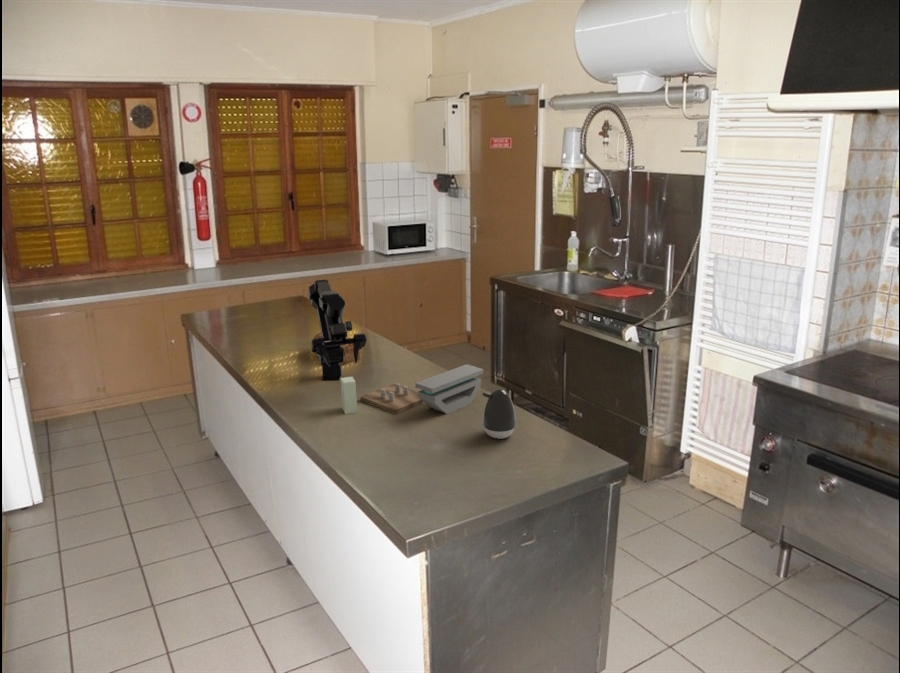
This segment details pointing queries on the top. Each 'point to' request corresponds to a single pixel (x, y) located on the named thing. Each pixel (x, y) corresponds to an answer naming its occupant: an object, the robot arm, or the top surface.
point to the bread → (347, 351)
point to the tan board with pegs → (393, 398)
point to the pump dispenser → (499, 414)
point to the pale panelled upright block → (348, 395)
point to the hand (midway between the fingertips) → (343, 364)
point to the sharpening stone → (450, 388)
